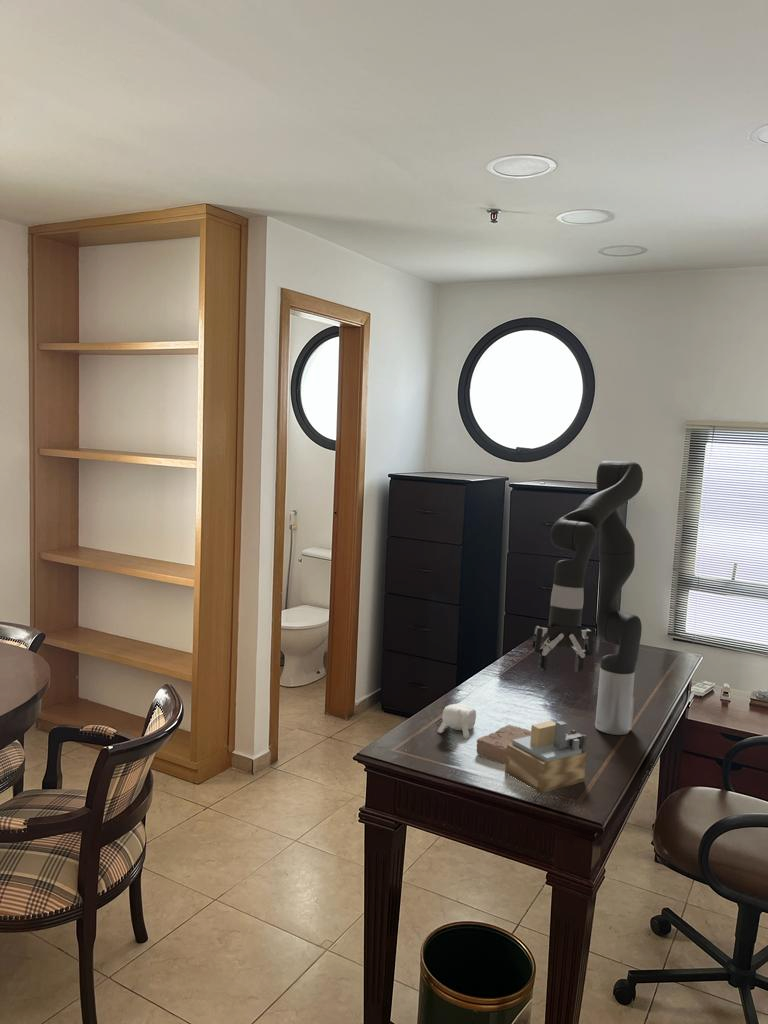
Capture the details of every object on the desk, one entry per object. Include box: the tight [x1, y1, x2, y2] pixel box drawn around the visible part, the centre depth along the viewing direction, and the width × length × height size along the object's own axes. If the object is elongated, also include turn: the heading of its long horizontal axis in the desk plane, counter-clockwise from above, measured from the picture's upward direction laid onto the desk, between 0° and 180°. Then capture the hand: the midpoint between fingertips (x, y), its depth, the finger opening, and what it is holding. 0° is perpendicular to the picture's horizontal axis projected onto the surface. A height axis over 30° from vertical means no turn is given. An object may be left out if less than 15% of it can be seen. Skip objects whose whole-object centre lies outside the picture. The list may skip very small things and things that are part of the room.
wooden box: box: [504, 729, 588, 794], centre depth 185 cm, size 14×12×11 cm
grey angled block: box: [554, 720, 583, 749], centre depth 183 cm, size 8×2×6 cm, turn 123°
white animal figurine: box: [437, 703, 477, 740], centre depth 209 cm, size 9×8×15 cm
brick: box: [476, 724, 531, 765], centre depth 199 cm, size 16×8×5 cm, turn 142°
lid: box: [512, 720, 582, 762], centre depth 184 cm, size 11×11×6 cm
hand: (560, 671), depth 187 cm, fingers open, 8 cm apart
